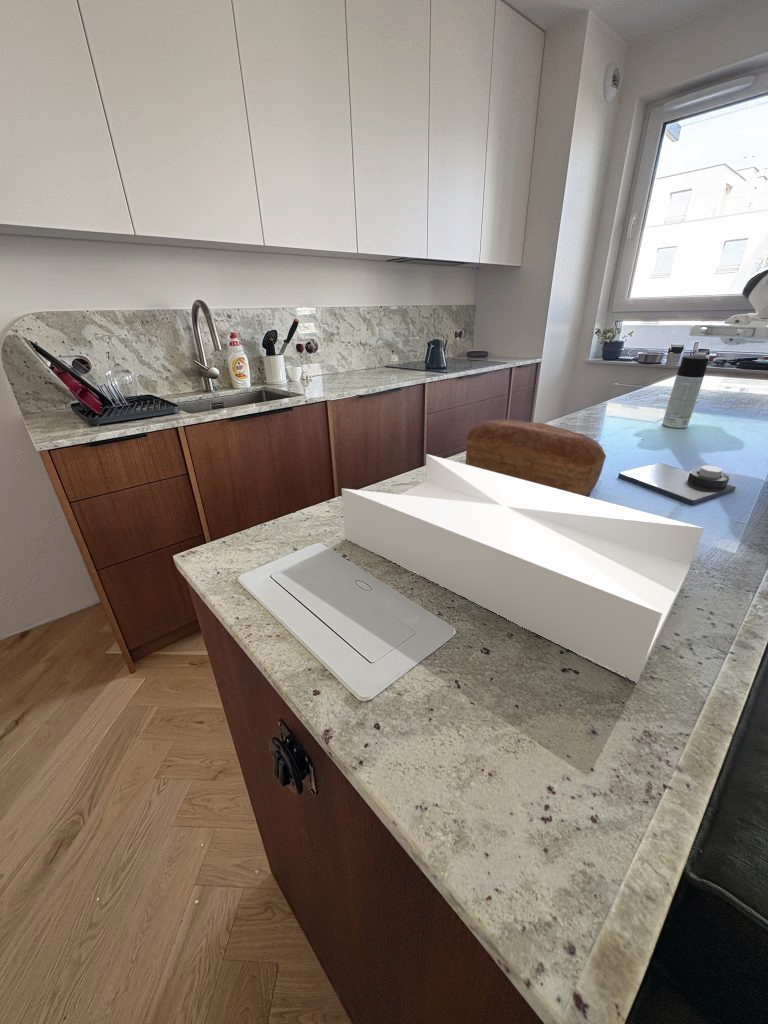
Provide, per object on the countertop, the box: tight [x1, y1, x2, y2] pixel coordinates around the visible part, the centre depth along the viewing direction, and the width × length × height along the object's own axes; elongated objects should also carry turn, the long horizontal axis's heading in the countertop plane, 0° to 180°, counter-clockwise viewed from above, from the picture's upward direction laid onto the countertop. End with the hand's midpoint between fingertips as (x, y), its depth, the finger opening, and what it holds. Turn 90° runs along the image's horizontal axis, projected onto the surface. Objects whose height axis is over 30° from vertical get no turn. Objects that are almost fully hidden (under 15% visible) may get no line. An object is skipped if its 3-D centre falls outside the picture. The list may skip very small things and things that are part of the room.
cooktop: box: [617, 462, 737, 507], centre depth 89 cm, size 16×14×3 cm
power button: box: [699, 465, 723, 479], centre depth 86 cm, size 4×4×2 cm
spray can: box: [662, 355, 709, 429], centre depth 124 cm, size 7×7×20 cm
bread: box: [465, 418, 607, 496], centre depth 90 cm, size 14×28×12 cm, turn 46°
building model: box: [341, 453, 705, 683], centre depth 63 cm, size 45×22×10 cm, turn 47°
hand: (720, 332), depth 123 cm, fingers open, 8 cm apart
